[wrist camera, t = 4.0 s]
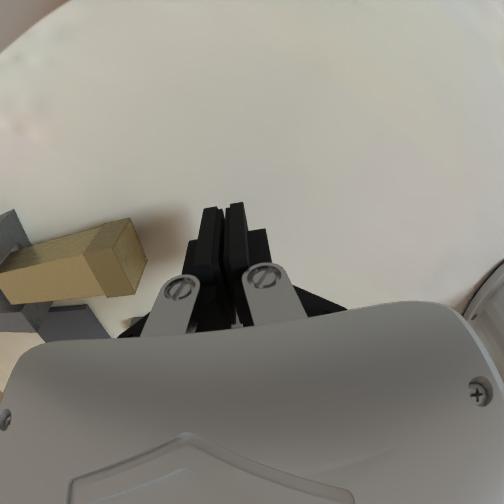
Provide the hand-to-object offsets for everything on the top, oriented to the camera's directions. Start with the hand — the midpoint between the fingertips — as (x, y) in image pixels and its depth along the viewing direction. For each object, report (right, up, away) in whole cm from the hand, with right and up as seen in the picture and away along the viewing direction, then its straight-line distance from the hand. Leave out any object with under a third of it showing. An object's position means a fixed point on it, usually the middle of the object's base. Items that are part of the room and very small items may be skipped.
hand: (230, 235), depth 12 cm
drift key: (-10, -1, +1) cm, 10 cm away
